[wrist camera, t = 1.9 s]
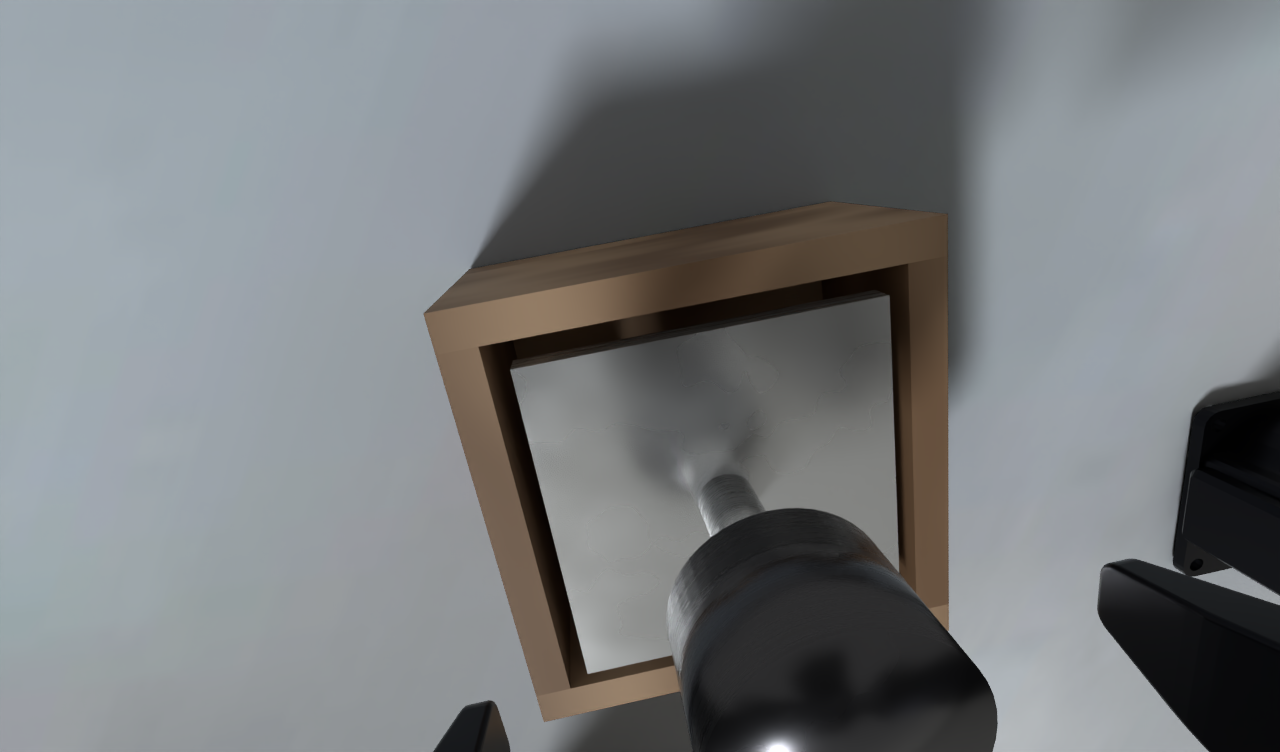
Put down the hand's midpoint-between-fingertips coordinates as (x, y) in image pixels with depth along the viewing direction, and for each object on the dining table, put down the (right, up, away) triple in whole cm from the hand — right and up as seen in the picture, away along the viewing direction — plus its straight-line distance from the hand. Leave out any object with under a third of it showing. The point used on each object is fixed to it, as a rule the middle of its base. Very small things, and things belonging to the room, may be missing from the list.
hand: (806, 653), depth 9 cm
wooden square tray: (-1, +3, +9) cm, 10 cm away
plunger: (-1, +2, +5) cm, 5 cm away
